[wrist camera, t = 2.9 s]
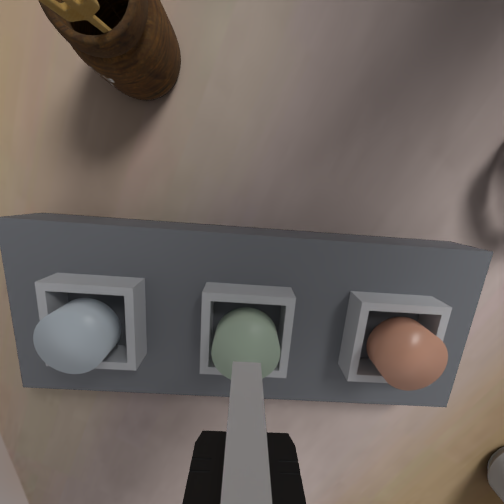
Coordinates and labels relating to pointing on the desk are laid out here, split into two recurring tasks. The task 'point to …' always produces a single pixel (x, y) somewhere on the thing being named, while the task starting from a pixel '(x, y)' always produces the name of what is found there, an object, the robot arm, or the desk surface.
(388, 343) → the terracotta button
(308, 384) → the console
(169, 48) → the utensil holder
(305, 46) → the desk surface
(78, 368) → the pale blue button
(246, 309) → the sage button
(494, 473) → the can
